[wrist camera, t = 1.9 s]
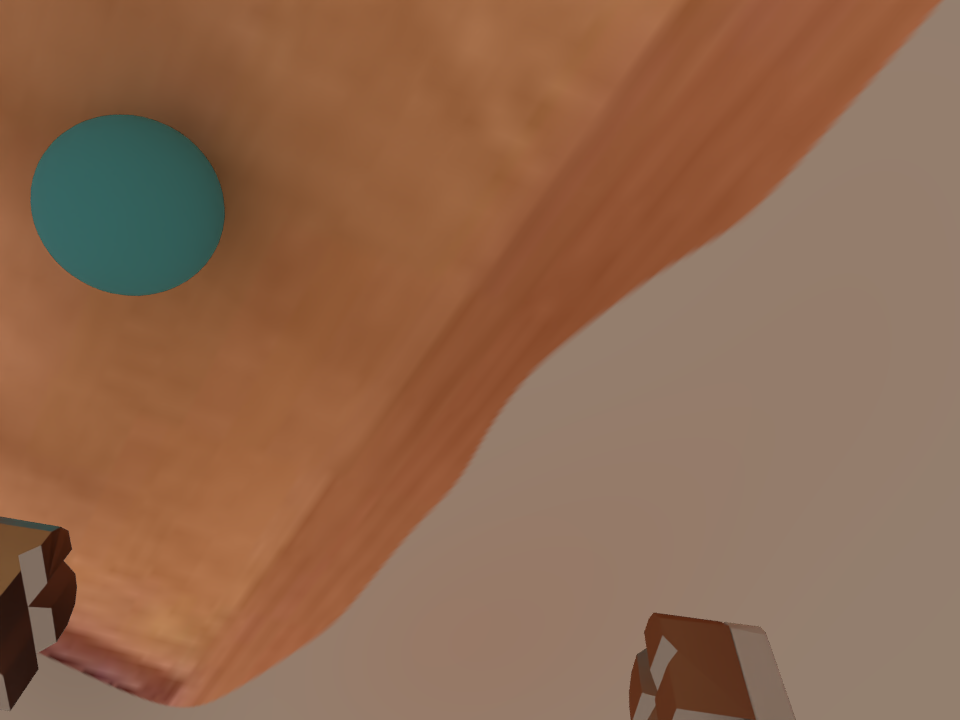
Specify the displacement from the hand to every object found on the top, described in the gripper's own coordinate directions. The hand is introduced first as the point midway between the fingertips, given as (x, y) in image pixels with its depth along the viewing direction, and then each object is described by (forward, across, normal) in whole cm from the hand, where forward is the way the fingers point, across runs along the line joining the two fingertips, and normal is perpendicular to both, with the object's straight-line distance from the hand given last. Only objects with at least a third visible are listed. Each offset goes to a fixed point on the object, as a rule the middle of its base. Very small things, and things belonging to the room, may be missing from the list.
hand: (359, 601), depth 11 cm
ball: (+18, +11, +2) cm, 21 cm away
